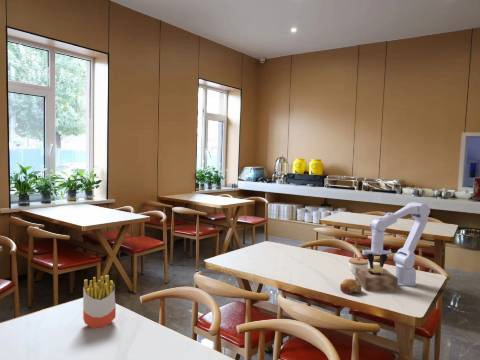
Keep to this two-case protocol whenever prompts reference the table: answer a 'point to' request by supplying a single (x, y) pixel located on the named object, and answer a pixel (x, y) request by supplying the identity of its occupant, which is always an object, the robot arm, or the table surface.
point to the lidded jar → (357, 264)
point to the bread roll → (350, 287)
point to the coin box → (376, 280)
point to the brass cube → (377, 269)
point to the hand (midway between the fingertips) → (376, 268)
